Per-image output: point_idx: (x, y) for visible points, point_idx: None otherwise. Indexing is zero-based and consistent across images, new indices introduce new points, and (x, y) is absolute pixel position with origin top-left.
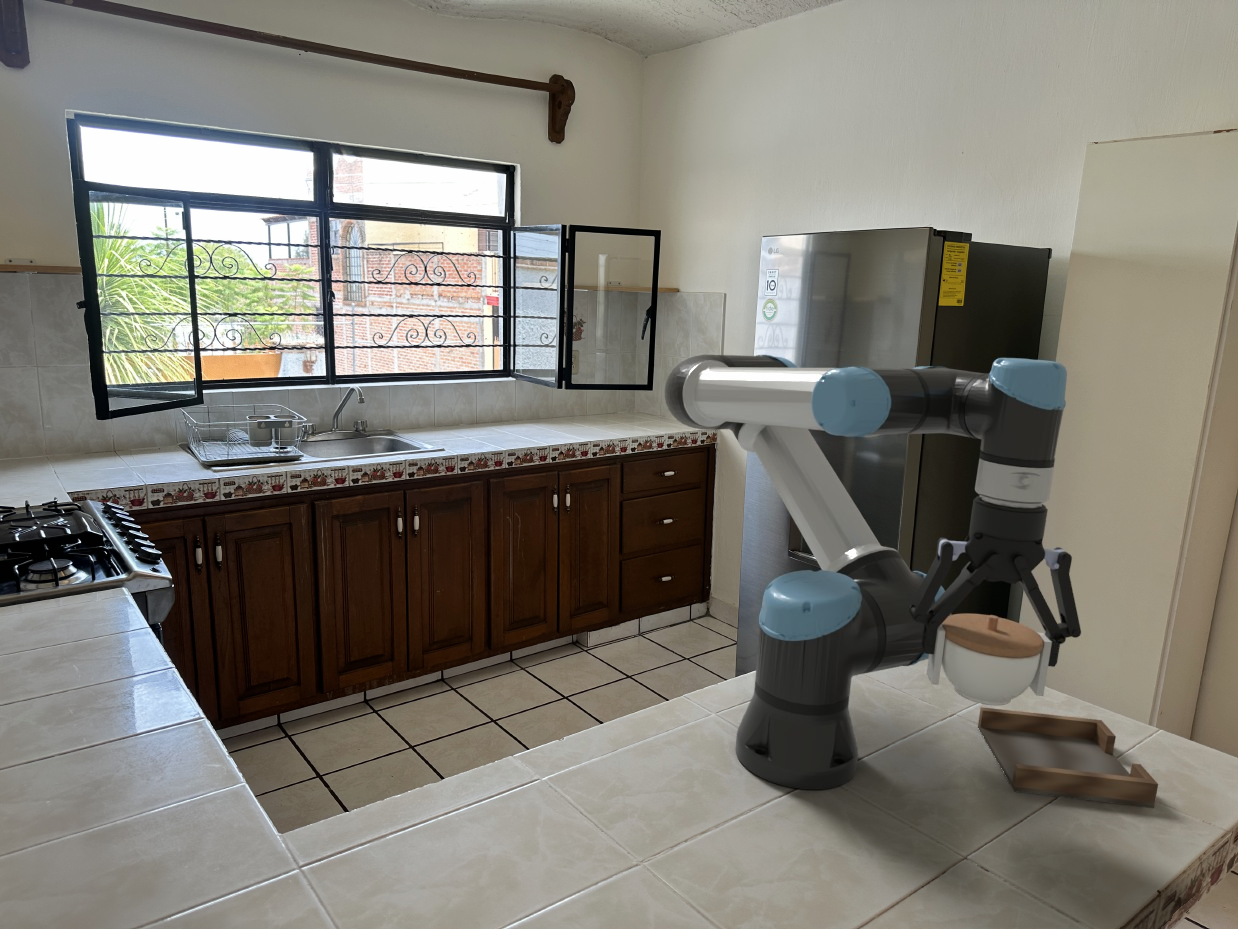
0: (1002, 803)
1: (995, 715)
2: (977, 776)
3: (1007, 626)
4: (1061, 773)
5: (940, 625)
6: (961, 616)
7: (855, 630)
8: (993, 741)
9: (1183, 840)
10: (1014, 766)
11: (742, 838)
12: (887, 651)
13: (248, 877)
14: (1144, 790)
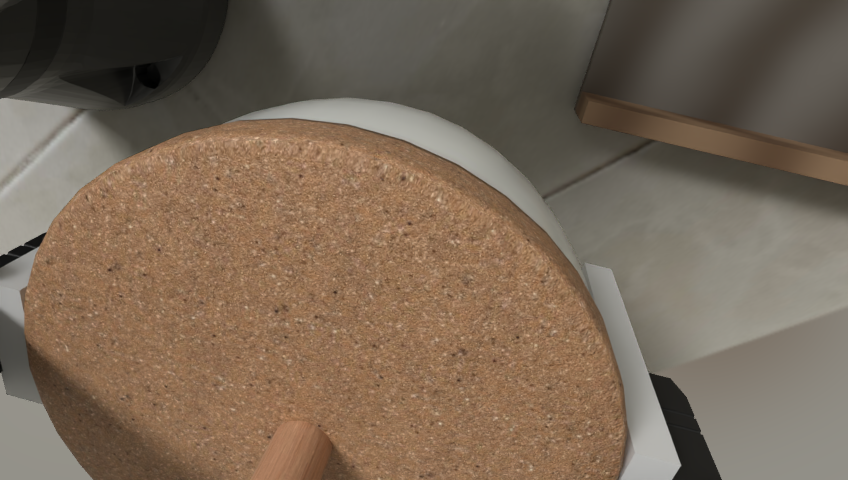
0: (515, 153)
1: None
2: (520, 38)
3: (439, 417)
4: (690, 147)
5: (19, 326)
6: (159, 238)
7: None
8: None
9: (826, 286)
10: (644, 9)
11: (26, 233)
12: (6, 3)
13: None
14: None
